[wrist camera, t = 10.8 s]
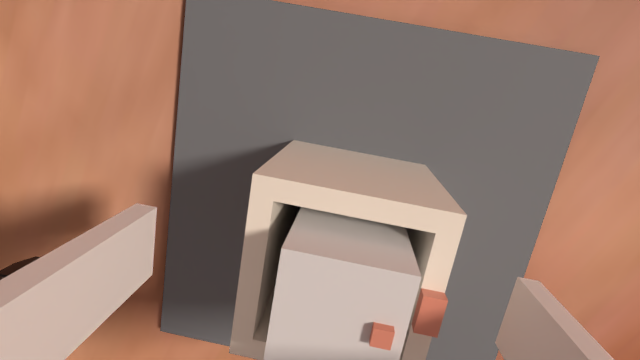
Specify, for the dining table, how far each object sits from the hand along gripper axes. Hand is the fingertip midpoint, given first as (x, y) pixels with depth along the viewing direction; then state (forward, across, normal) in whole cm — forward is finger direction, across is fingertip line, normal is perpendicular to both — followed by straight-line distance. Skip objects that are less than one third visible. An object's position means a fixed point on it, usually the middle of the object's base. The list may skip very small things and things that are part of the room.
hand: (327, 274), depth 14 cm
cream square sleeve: (+7, +1, 0) cm, 7 cm away
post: (+8, +1, 0) cm, 8 cm away
